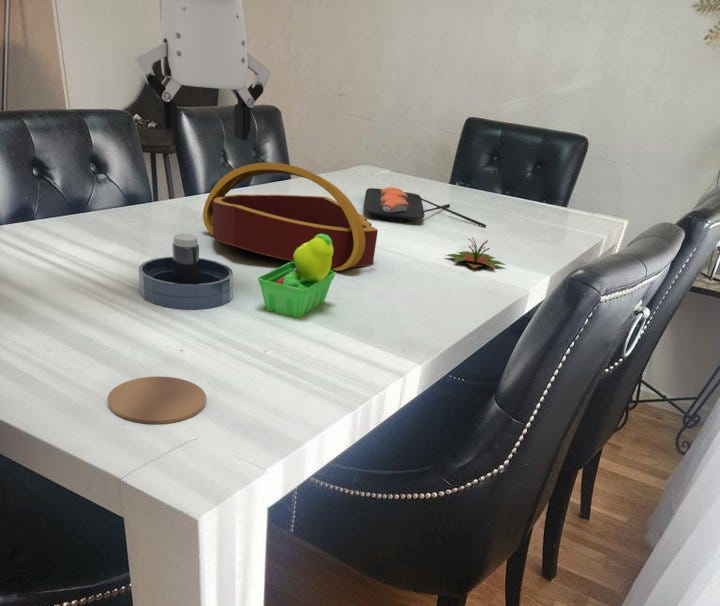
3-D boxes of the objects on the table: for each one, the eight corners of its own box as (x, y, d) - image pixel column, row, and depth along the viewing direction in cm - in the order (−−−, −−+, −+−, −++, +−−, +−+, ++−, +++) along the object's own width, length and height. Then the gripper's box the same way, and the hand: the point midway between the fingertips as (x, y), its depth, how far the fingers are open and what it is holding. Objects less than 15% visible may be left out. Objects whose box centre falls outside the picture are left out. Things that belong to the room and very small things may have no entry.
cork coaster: (104, 425, 64) (104, 421, 63) (110, 379, 71) (110, 376, 71) (208, 422, 66) (208, 419, 66) (203, 379, 74) (203, 376, 74)
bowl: (139, 312, 88) (137, 283, 86) (142, 281, 98) (140, 254, 96) (236, 314, 92) (236, 286, 89) (228, 284, 102) (228, 258, 100)
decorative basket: (396, 273, 124) (413, 189, 118) (307, 279, 101) (321, 175, 94) (260, 234, 138) (269, 157, 132) (155, 232, 115) (158, 139, 108)
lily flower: (472, 274, 122) (477, 250, 119) (432, 256, 129) (436, 232, 127) (517, 270, 128) (523, 246, 125) (476, 252, 135) (481, 230, 133)
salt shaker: (174, 297, 93) (172, 239, 88) (174, 288, 96) (171, 232, 91) (200, 297, 94) (199, 241, 89) (199, 289, 97) (197, 234, 92)
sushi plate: (365, 194, 173) (367, 179, 171) (476, 209, 174) (479, 193, 172) (361, 218, 149) (363, 201, 147) (490, 235, 150) (493, 218, 148)
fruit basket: (290, 292, 102) (294, 217, 95) (341, 305, 99) (349, 229, 93) (254, 313, 93) (256, 232, 86) (310, 328, 90) (316, 245, 84)
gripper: (258, -13, 84) (255, 135, 93) (120, -36, 75) (133, 129, 85) (283, -12, 79) (278, 144, 88) (139, -36, 70) (150, 139, 80)
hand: (207, 137), depth 86 cm, fingers open, 9 cm apart
